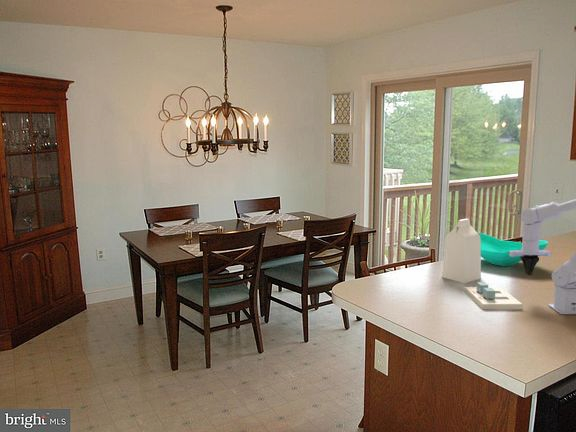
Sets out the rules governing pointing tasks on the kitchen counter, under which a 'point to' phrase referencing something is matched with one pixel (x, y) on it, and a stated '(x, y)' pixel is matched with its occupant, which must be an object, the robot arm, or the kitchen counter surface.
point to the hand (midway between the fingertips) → (528, 274)
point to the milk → (462, 253)
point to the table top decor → (502, 250)
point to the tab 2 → (489, 293)
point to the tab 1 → (481, 286)
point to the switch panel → (500, 301)
